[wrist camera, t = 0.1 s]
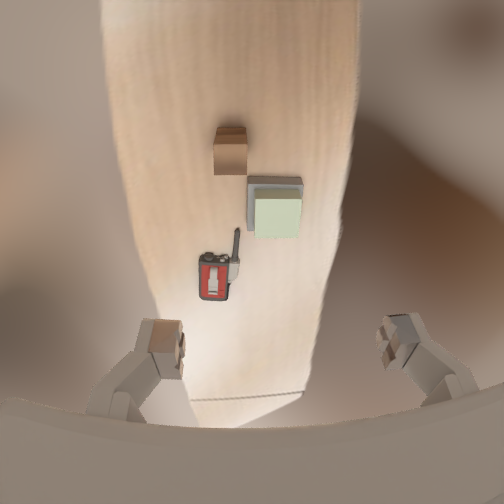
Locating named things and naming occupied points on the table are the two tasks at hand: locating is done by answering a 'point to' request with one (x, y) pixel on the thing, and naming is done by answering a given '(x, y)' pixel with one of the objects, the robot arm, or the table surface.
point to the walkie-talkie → (218, 273)
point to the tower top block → (277, 213)
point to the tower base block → (268, 183)
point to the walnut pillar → (230, 151)
